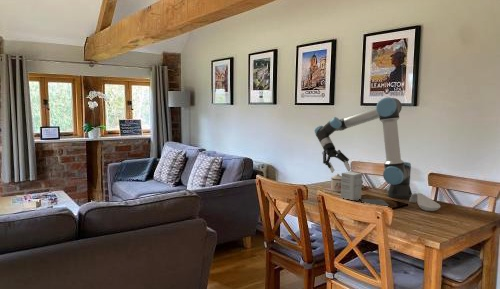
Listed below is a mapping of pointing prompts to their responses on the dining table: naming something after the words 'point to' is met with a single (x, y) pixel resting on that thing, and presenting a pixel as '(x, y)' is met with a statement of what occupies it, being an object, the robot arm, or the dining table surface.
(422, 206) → the spoon rest
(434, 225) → the dining table surface
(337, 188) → the teacup with lid
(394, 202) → the dining table surface
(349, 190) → the supplement box
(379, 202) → the charcoal mat
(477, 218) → the dining table surface
